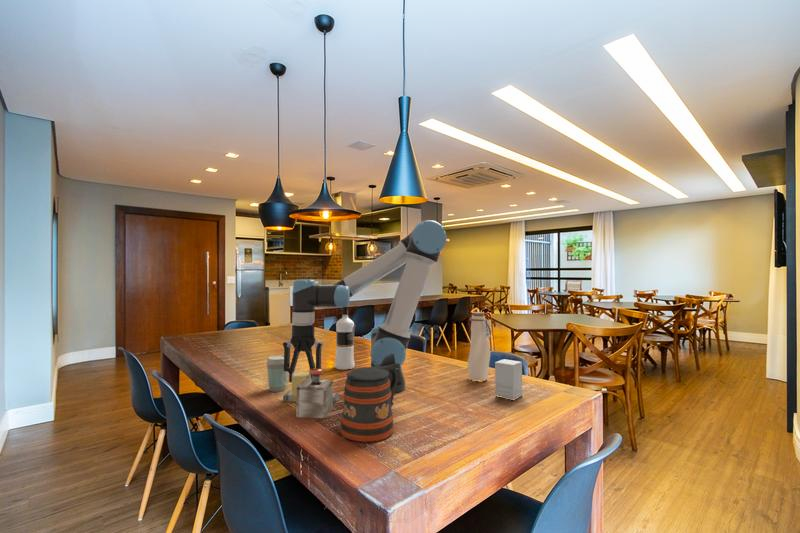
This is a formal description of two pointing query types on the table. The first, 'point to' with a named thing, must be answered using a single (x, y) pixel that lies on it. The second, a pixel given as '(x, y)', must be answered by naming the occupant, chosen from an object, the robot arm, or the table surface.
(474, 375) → the water bottle
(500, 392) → the supplement box
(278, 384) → the coffee cup
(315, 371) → the plunger
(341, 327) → the vodka
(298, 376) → the carriage
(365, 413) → the beer stein
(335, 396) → the rail
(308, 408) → the grey open box
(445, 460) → the table surface
